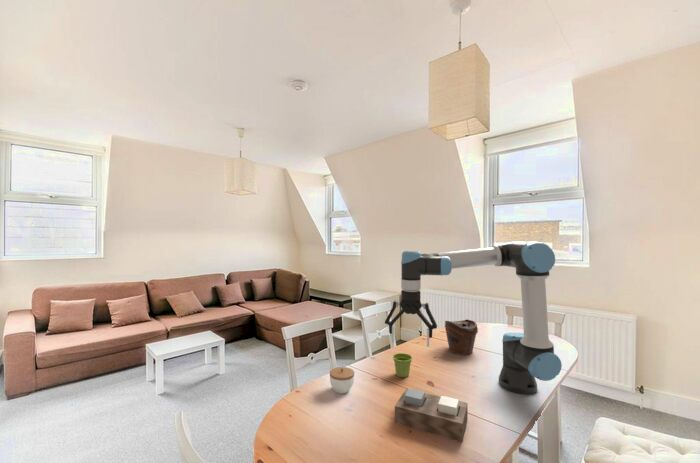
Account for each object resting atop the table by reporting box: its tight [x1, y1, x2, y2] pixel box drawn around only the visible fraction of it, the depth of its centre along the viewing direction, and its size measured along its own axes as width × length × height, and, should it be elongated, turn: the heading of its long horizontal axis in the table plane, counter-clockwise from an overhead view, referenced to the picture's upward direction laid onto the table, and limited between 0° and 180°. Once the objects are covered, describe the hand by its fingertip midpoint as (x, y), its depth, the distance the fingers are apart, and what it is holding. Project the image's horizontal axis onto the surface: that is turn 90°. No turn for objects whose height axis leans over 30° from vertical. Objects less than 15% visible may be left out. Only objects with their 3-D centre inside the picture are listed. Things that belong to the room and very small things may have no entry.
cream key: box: [438, 395, 460, 416], centre depth 109 cm, size 6×6×4 cm
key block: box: [394, 388, 469, 443], centre depth 112 cm, size 23×14×6 cm, turn 63°
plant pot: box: [392, 352, 413, 379], centre depth 149 cm, size 9×9×9 cm
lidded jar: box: [329, 366, 355, 395], centre depth 134 cm, size 11×11×9 cm
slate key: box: [405, 387, 426, 407], centre depth 114 cm, size 6×6×4 cm
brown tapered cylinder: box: [444, 319, 479, 356], centre depth 180 cm, size 18×20×18 cm
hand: (410, 343), depth 122 cm, fingers open, 13 cm apart
